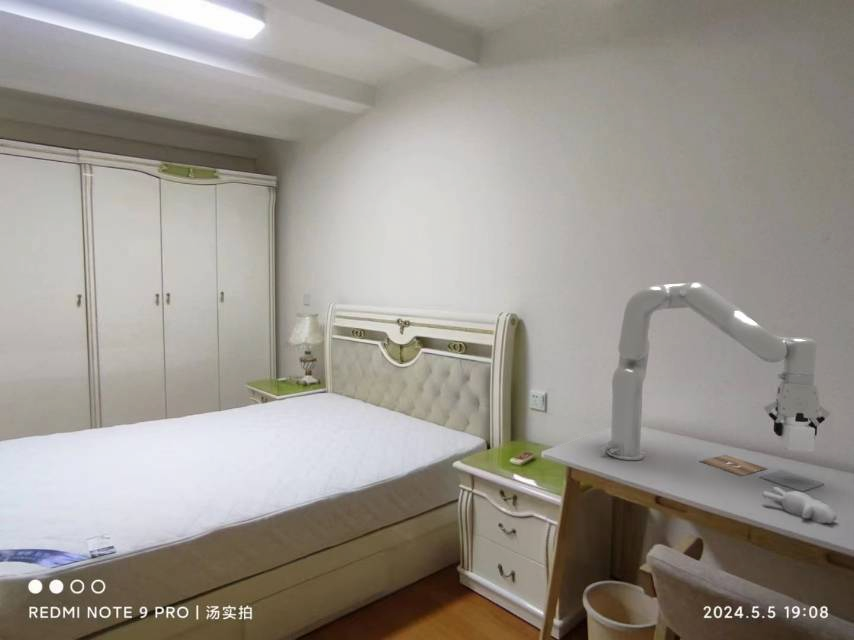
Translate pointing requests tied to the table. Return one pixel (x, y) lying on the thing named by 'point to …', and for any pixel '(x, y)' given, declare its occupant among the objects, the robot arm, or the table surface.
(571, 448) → the table surface
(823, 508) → the bunny figurine
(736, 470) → the tile
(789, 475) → the grey mat
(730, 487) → the table surface
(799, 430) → the medicine bottle
